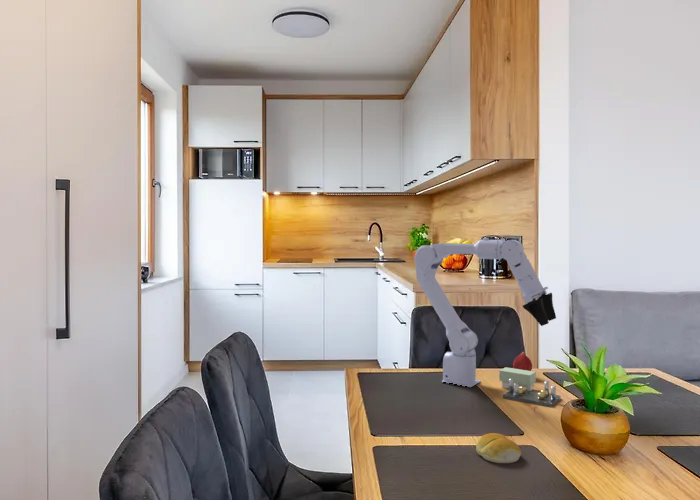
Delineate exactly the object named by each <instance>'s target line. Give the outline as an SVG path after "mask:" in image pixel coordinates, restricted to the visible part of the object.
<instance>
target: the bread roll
mask: <svg viewBox="0 0 700 500" xmlns="http://www.w3.org/2000/svg"><path fill="white" fill-rule="evenodd" d="M475 448H476V449H475V450H476V453H477V454H478V455H479V456H480V457H482V458H483V459H484V460H486V461H489V462H492V463H496V464H510V463H512V464H513V463H517V461H518V460H519V459H520V457H521V455H522V450H521V447H520V446H519V445H518V443H516V442H514V440H512V439H510V438H508V437H507V436H506V435H504V434H501V433H497V432H490V433H485V434H484V435H482V436H481V437H479V439H478V440H477V442H476V446H475Z"/></svg>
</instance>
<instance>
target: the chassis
mask: <svg viewBox="0 0 700 500" xmlns="http://www.w3.org/2000/svg"><path fill="white" fill-rule="evenodd" d="M518 385H519V384H517V383H514V388H513V379H509V388H508V391H507V392H505V393H504V394H502V398H503V399H507V400H512V401H517V402H522V403H527V404H528V403H529V404H533V405H539V406H544V407H549V408H552V407H553V406H554V405H555V404H557V403H558V401H560V400H562V399H561V398H562V396H561V395H558V394H557V387H556V386H555V385H551V386H550V381H549V380H544V389H541V390H540V391H535V390H531V391H530V390H526V387H524V386H519V388H518Z"/></svg>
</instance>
